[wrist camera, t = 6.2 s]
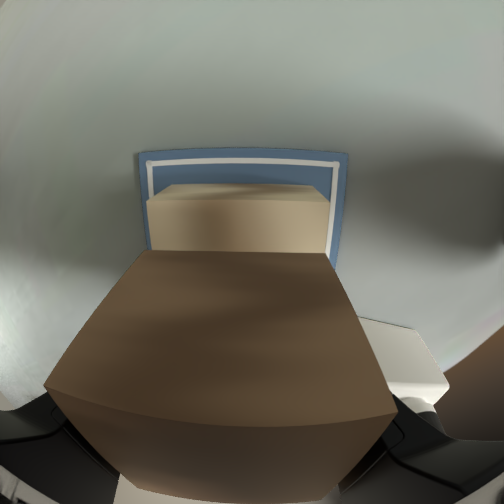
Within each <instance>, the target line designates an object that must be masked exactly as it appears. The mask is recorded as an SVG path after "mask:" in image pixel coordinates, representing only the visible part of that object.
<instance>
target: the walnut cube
mask: <svg viewBox="0 0 504 504" xmlns="http://www.w3.org/2000/svg"><path fill="white" fill-rule="evenodd" d="M43 386H44V387H45V389H46V390H47V392H48V393H49V394H50V396H51V397H52V399H53V400H54V401H55V403H56V404H57V405H58V407H59V408H60V409H61V410H62V412H63V413H64V414H65V416H66V417H67V418H68V419H69V420H70V422H71V423H72V424H73V425H74V426H75V428H76V429H77V430H78V431H79V432H80V433H81V434H82V436H83V437H84V438H85V439H86V440H87V441H88V442H89V443H90V444H91V445H92V446H93V447H94V449H95V450H96V451H97V452H98V453H99V454H100V455H101V456H102V457H103V458H104V459H105V460H107V461H108V462H109V463H110V464H111V465H112V466H113V467H114V468H115V469H116V470H117V471H118V472H119V473H121V474H122V475H123V476H124V477H125V478H126V479H127V480H129V481H130V482H131V483H132V484H133V485H135V486H136V487H137V488H139V489H143V490H147V491H151V492H155V493H160V494H165V495H170V496H175V497H181V498H187V499H194V500H202V501H210V502H220V503H236V504H283V503H298V502H309V501H317V500H321V499H322V498H323V497H325V496H326V495H327V494H328V493H329V492H330V491H331V490H332V489H333V488H334V487H335V486H336V485H337V484H338V483H339V482H340V481H341V480H342V479H343V478H344V477H345V476H346V475H347V474H348V473H349V472H350V471H351V470H352V469H353V468H354V467H355V466H356V464H357V463H358V462H359V461H360V460H361V459H362V458H363V457H364V455H365V454H366V453H367V452H368V451H369V450H370V448H371V447H372V446H373V445H374V443H375V442H376V441H377V440H378V438H379V437H380V436H381V435H382V433H383V432H384V431H385V429H386V428H387V427H388V425H389V424H390V423H391V421H392V420H393V419H394V417H395V416H396V414H397V413H398V410H397V407H396V405H395V402H394V400H393V397H392V395H391V392H390V390H389V387H388V385H387V382H386V380H385V377H384V375H383V373H382V370H381V368H380V366H379V363H378V361H377V359H376V356H375V354H374V352H373V350H372V347H371V345H370V343H369V341H368V338H367V336H366V334H365V332H364V330H363V327H362V325H361V323H360V321H359V319H358V317H357V315H356V313H355V311H354V308H353V306H352V304H351V302H350V300H349V298H348V296H347V294H346V292H345V290H344V288H343V286H342V284H341V282H340V280H339V278H338V276H337V274H336V272H335V270H334V268H333V267H332V265H331V263H330V261H329V259H328V257H327V255H326V253H289V252H232V251H176V250H144V251H143V252H142V253H141V255H140V256H139V257H138V258H137V259H136V260H135V262H134V263H133V264H132V265H131V266H130V267H129V269H128V270H127V271H126V272H125V273H124V275H123V276H122V277H121V278H120V279H119V281H118V282H117V283H116V284H115V286H114V287H113V288H112V289H111V291H110V292H109V293H108V294H107V296H106V297H105V298H104V299H103V301H102V302H101V303H100V305H99V306H98V307H97V309H96V310H95V311H94V312H93V314H92V315H91V316H90V318H89V319H88V320H87V322H86V323H85V324H84V326H83V327H82V329H81V330H80V331H79V333H78V334H77V335H76V337H75V338H74V340H73V341H72V343H71V344H70V345H69V347H68V348H67V350H66V351H65V353H64V354H63V356H62V357H61V359H60V360H59V362H58V363H57V365H56V366H55V368H54V369H53V371H52V372H51V374H50V375H49V377H48V378H47V380H46V382H45V383H44V385H43Z"/></svg>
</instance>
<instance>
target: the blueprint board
mask: <svg viewBox="0 0 504 504" xmlns="http://www.w3.org/2000/svg"><path fill="white" fill-rule="evenodd" d="M138 154H139V172H140V186H141V198H142V208H143V217H144V226H145V234H146V242H147V249H148V250H152V247H151V240H150V232H149V223H148V214H147V204H146V201H147V200H149V199H150V198H152V197H153V196H155V195H156V194H158V193H159V192H161V191H162V190H164V189H165V188H167V187H169V186H170V185H173V184H213V183H248V184H288V185H310V186H313V187H314V188H315V189H316V190H317V191H319V192H320V193H321V194H322V195H323V196H324V197H325V198H326V199H327V200H328V201H329V202H330V210H329V220H328V229H327V238H326V246H325V253H326V255H327V257H328V259H329V261H330V263H331V265H332V267H333V268H334V270H335V267H336V260H337V254H338V247H339V240H340V232H341V224H342V216H343V207H344V197H345V187H346V175H347V162H348V154H346V153H337V152H327V151H315V150H300V149H280V148H199V149H179V150H164V151H152V152H142V153H138Z"/></svg>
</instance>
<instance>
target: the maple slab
mask: <svg viewBox="0 0 504 504" xmlns="http://www.w3.org/2000/svg"><path fill="white" fill-rule="evenodd" d="M146 204H147V214H148V223H149V232H150V240H151V247H152V250H176V251H232V252H289V253H325V246H326V238H327V229H328V220H329V210H330V202H329V201H328V200H327V199H326V198H325V197H324V196H323V195H322V194H321V193H320V192H319V191H317V190H316V189H315V188H314V187H313V186H310V185H288V184H248V183H213V184H173V185H170V186H169V187H167V188H165V189H164V190H162V191H161V192H159V193H158V194H156V195H155V196H153V197H152V198H150V199H149V200H147V201H146Z"/></svg>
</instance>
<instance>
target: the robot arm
mask: <svg viewBox="0 0 504 504" xmlns="http://www.w3.org/2000/svg"><path fill="white" fill-rule="evenodd" d="M390 392H391V391H390ZM391 395H392V397H393V400H394V402H395V405H396V407H397V410H398V413H397V414H396V416H395V417H394V419H393V420H392V421H391V423H390V424H389V425H388V427H387V428H386V429H385V431H384V432H383V433H382V435H381V436H380V437H379V438H378V440H377V441H376V442H375V443H374V445H373V446H372V447H371V448H370V450H369V451H368V452H367V453H366V454H365V455H364V457H363V458H362V459H361V460H360V461H359V462H358V463H357V464H356V466H355V467H354V468H353V469H352V470H351V471H350V472H349V473H348V474H347V475H346V476H345V477H344V478H343V479H342V480H341V481H340V482H339V483H338V486H339V492H340V499H341V504H504V441H469V440H458V439H454V438H451V437H449V436H447V435H445V434H444V433H442V432H441V431H440V430H438V429H437V428H435V427H434V426H433V425H431V424H430V423H429V422H427V421H426V420H424V419H423V418H422V417H420V416H419V415H418V414H417V413H415V412H414V411H413V410H411V409H410V408H409V407H408V406H407V405H406V404H404V403H403V402H402V401H401V400H400V399H399V398H398V397H397V396H396V395H395V394H392V392H391ZM119 476H120V473H119V472H118V471H117V470H116V469H115V468H114V467H113V466H112V465H111V464H110V463H109V462H108V461H107V460H105V459H104V458H103V457H102V456H101V455H100V454H99V453H98V452H97V451H96V450H95V449H94V447H93V446H92V445H91V444H90V443H89V442H88V441H87V440H86V439H85V438H84V437H83V436H82V434H81V433H80V432H79V431H78V430H77V429H76V428H75V426H74V425H73V424H72V423H71V422H70V420H69V419H68V418H67V417H66V416H65V414H64V413H63V412H62V410H61V409H60V408H59V407H58V405H57V404H56V403H55V401H54V400H53V399H52V397H51V396H50V394H49V393H48V392H46V393H44V394H43V395H41V396H39V397H38V398H36V399H34V400H32V401H30V402H29V403H27V404H25V405H23V406H22V407H20V408H18V409H15V410H10V411H1V410H0V504H113V502H114V497H115V493H116V489H117V485H118V480H119Z"/></svg>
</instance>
